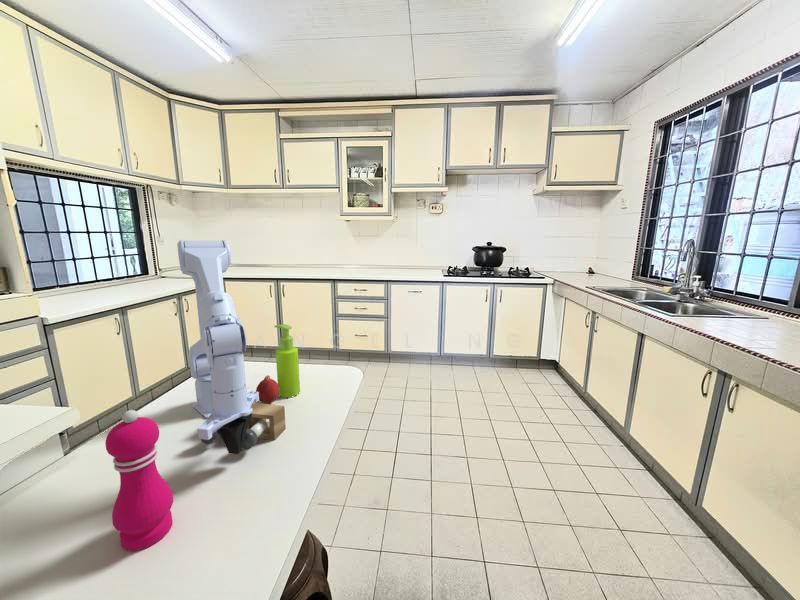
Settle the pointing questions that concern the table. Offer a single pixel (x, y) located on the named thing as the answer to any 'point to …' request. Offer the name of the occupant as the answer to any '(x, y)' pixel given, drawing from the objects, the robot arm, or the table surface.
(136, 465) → the pepper mill
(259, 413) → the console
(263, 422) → the knob
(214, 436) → the knob
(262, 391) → the onion
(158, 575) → the table surface
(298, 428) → the table surface
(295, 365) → the soap dispenser
